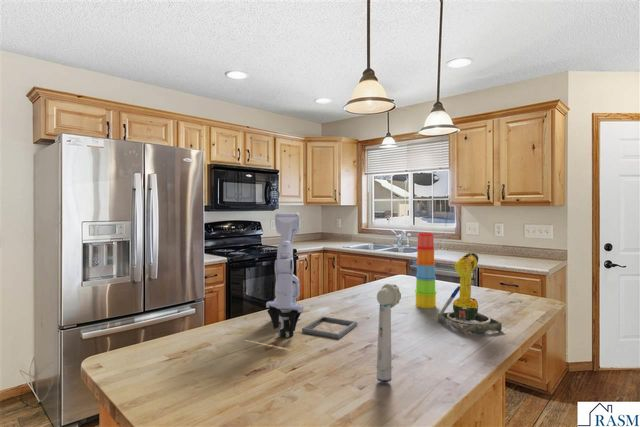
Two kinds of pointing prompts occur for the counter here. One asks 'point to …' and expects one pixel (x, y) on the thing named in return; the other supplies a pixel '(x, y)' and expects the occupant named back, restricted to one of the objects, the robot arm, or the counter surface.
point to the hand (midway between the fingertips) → (284, 329)
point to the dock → (309, 330)
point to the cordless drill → (466, 302)
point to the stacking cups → (425, 272)
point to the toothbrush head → (385, 330)
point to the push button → (284, 324)
